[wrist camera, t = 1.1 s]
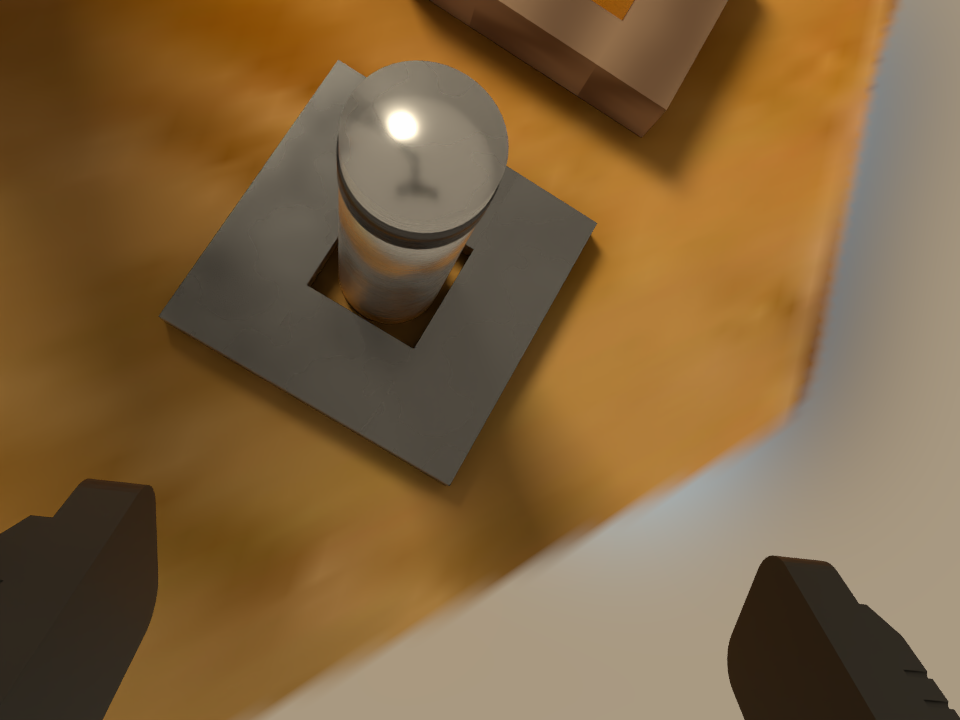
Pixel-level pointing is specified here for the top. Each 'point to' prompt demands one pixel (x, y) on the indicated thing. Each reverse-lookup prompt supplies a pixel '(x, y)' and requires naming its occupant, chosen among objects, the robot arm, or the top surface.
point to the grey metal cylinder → (412, 183)
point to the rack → (601, 47)
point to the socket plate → (349, 338)
